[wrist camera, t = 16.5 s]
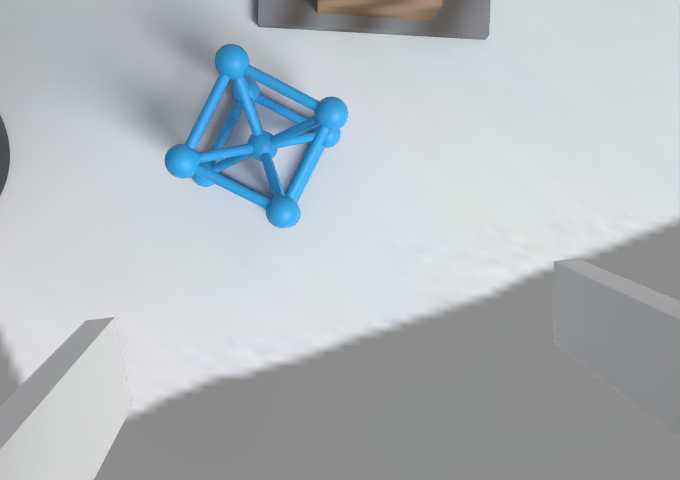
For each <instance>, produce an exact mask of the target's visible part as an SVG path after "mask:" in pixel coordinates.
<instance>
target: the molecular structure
mask: <svg viewBox="0 0 680 480" xmlns="http://www.w3.org/2000/svg"><path fill="white" fill-rule="evenodd" d="M215 64H216V68H217V70H218V72H219V73H220V75H219V77H218V79H217V81H216V83H215V85H214V87H213V89H212V91H211V93H210V95H209V97H208V99H207V101H206V103H205V105H204V107H203V109H202V111H201V113H200V115H199V117H198V119H197V121H196V123H195V125H194V127H193V129H192V131H191V133H190V135H189V137H188V139H187V141H186V143H185V144H178V145H175V146H173V147H171V148H170V149H169V150H168V152H167V153H166V155H165V166H166V168H167V170H168V171H169V172H170V173H171V174H172V175H174V176H175V177H179V178H188V177H191V176H192V179H193V180H194V182H195V183H197V184H198V185H200V186H204V187H208V186H211V185H213V184H214V183H215V184H217V185H219V186H221V187H223V188H225V189H227V190H229V191H231V192H233V193H235V194H237V195H239V196H241V197H243V198H245V199H247V200H249V201H251V202H253V203H255V204H257V205H259V206H261V207H263V208H265V209H266V216H267V218H268V220H269V222H270V223H271V224H273V225H274V226H276V227H279V228H286V227H291V226H293V225H295V224H296V223H297V222H298V221H299V218H300V209H299V207H298V204H297V202H298V200H299V198H300V196H301V194H302V192H303V190H304V188H305V186H306V184H307V182H308V180H309V178H310V176H311V174H312V172H313V170H314V168H315V166H316V164H317V162H318V160H319V158H320V156H321V154H322V152H323V150H324V148H325V147H326V148H328V147H332V146H334V145H335V144H336V143H337V142H338V141H339V139H340V129H339V128H341V127H342V126H343V125H344V124H345V123H346V121H347V118H348V110H347V107H346V105H345V103H344V102H343V101H342V100H340V99H339V98H336V97H326V98H324V99H322V100H321V101H320V102H319V101H317V100H315V99H314V98H312V97H310V96H308V95H306V94H304V93H302V92H300V91H298V90H296V89H294V88H293V87H291V86H289V85H287V84H285V83H283V82H281V81H279V80H277V79H275V78H273V77H272V76H270V75H268V74H266V73H264V72H262V71H260V70H258V69H256V68H254V67H252V66H251V65H249V57H248V55H247V53H246V52H245V50H244V49H243V48H241V47H240V46H238V45H235V44H227V45H224V46H222V47H221V48H220V49H219V50H218V52H217V53H216V57H215ZM244 75H246V76H248V77H250V78H252V79H254V80H256V81H258V82H260V83H262V84H264V85H266V86H268V87H269V88H271V89H273V90H275V91H277V92H279V93H281V94H283V95H285V96H287V97H289V98H291V99H293V100H294V101H296V102H298V103H300V104H302V105H304V106H306V107H308V108H310V109H312V110H314V111H315V116H314V117H311V118H309V119H307V118H305V117H303V116H301V115H299V114H297V113H295V112H293V111H291V110H289V109H287V108H285V107H284V106H282V105H280V104H278V103H276V102H274V101H272V100H270V99H268V98H266V97H264V96H262V95H260V90H259V86H258V85H257V83H256V82H255V81H254V80H252V79H250V78H245V77H244ZM230 79H231V80H233V81H234V85H233V87H232V95H233V98H234V100H235V101H236V103H235V105H234V107H233V109H232V111H231V113H230V115H229V117H228V118H227V120H226V122H225V124H224V126H223V128H222V130H221V132H220V134H219V136H218V138H217V140H216V142H215V144H214V146H213V148H212V150H211V151H206V152H201V153H197V152H196V151H195V148H196V146H197V144H198V142H199V140H200V138H201V136H202V134H203V132H204V130H205V128H206V126H207V124H208V122H209V120H210V118H211V116H212V114H213V112H214V110H215V108H216V106H217V104H218V102H219V100H220V98H221V96H222V94H223V92H224V90H225V88H226V86H227V84H228V82H229V80H230ZM256 102H257V103H259V104H261V105H263V106H265V107H267V108H269V109H270V110H272V111H274V112H276V113H278V114H280V115H282V116H284V117H286V118H288V119H290V120H292V121H294V122H296V123H298V124H297V125H295V126H292V127H290V128H288V129H286V130H284V131H282V132H280V133H278V134H276V135H274V136H273V135H272V134H271V133H269V132H266V131H263V130H262V127H261V124H260V121H259V118H258V114H257V111H256V108H255V105H254V104H255V103H256ZM243 108H244V111H245V113H246V116H247V119H248V122H249V124H250V127H251V130H252V132H253V134H252V135H251V136H250V138H249V140H248V143H247V144H245V145H239V146H234V147H228V148H223V146H224V144H225V142H226V141H227V139H228V137H229V135H230V133H231V131H232V129H233V127H234V125H235V123H236V121H237V119H238V117H239V115H240V113H241V111H242V109H243ZM308 130H311V131H313V132H310V133H305V134H301V133H304V132H306V131H308ZM310 141H312V142H311V144H310V146H309V148H308V150H307V152H306V154H305V156H304V158H303V160H302V162H301V164H300V166H299V168H298V170H297V172H296V174H295V176H294V178H293V180H292V182H291V184H290V186H289V188H288V190H287V192H286V194H284V192H283V189H282V186H281V183H280V180H279V177H278V175H277V172H276V169H275V166H274V163H273V160H272V158H273V157H274V156H275V154H276V152H277V148H280V147H285V146H290V145H295V144H300V143H305V142H310ZM222 148H223V149H222ZM251 156H252V157H253V158H254V159H256V160H258V161H262V163H263V166H264V169H265V173H266V176H267V179H268V183H269V186H270V189H271V193H272V196H273V198H272V199H271V200H270V199H268V198H266V197H264V196H262V195H260V194H258V193H256V192H254V191H252V190H250V189H248V188H246V187H244V186H242V185H240V184H238V183H236V182H234V181H232V180H230V179H228V178H226V177H224V176H222V175H220V174H219V171H221V170H223V169H225V168H227V167H230V166H232V165H234V164H236V163H238V162H241V161H243V160H245V159H247V158H249V157H251ZM224 158H225V159H224ZM219 159H223V160H221V161H219V162H217V163H215V162H216V160H219Z"/></svg>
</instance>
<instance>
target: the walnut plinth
mask: <svg viewBox="0 0 680 480" xmlns="http://www.w3.org/2000/svg"><path fill="white" fill-rule="evenodd" d="M489 22H490V0H258V25H259V27H270V28H288V29H306V30H323V31H341V32H359V33H376V34H394V35H412V36H429V37H447V38H465V39H482V40H485V39H486V38H487V37H488V36H489Z"/></svg>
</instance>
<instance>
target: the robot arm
mask: <svg viewBox="0 0 680 480" xmlns="http://www.w3.org/2000/svg"><path fill="white" fill-rule="evenodd" d="M9 161H10V150H9V142H8V136H7V133H6V129H5V126H4V123H3V121H2V119H1V117H0V195H1V192H2V190H3V188H4V185H5V182H6V179H7V175H8V170H9ZM553 336H554V337H553V339H554V340H553V344H555V345H556V346H557V347H558V348H560V349H561V350H562V351H564V352H565V353H566V354H568V355H569V356H570V357H572V358H573V359H574V360H576V361H577V362H578V363H580V364H581V365H582V366H584V367H585V368H586V369H588V370H589V371H590V372H592V373H593V374H594V375H595V376H597V377H598V378H599V379H601V380H602V381H603V382H605V383H606V384H607V385H609V386H610V387H611V388H613V389H614V390H615V391H617V392H618V393H619V394H621V395H622V396H623V397H625V398H626V399H627V400H628V401H630V402H631V403H632V404H634V405H635V406H636V407H638V408H639V409H640V410H642V411H643V412H644V413H646V414H647V415H648V416H650V417H651V418H652V419H654V420H655V421H656V422H658V423H659V424H660V425H662V426H663V427H664V428H665V429H667V430H668V431H670V432H671V433H672V434H673V435H675V436H676V437H677V438H679V439H680V301H678V300H676V299H673V298H671V297H669V296H666V295H664V294H661V293H659V292H657V291H654V290H652V289H649V288H647V287H645V286H642V285H640V284H637V283H635V282H633V281H630V280H628V279H625V278H623V277H621V276H618V275H616V274H613V273H611V272H608V271H606V270H604V269H601V268H599V267H597V266H594V265H592V264H589V263H587V262H585V261H582V260H580V259H570V260H562V261H554V335H553ZM131 407H132V401H131V396H130V391H129V386H128V381H127V376H126V371H125V367H124V362H123V357H122V352H121V347H120V342H119V337H118V332H117V327H116V323H115V318H114V317H112V318H104V319H96V320H88V321H85V322H84V323H83V324H82V325H81V326H80V327H79V328H78V329H77V330H76V331H75V332H74V333H73V334H72V335H71V336H70V337H69V338H68V339H67V340H66V341H65V342H64V343H63V344H62V345H61V346H60V347H59V348H58V349H57V350H56V351H55V352H54V353H53V354H52V355H51V356H50V357H49V358H48V359H47V360H46V361H45V362H44V363H43V364H42V365H41V366H40V367H39V368H38V369H37V370H36V371H35V372H34V373H33V374H32V375H31V376H30V377H29V378H28V379H27V380H26V381H25V382H24V383H23V384H22V385H21V386H20V387H19V388H18V389H17V390H16V392H15V393H13V394H12V395H11V396H10V397H9V399H7V400H6V402H5V403H3V404H2V406H1V407H0V480H94V478H95V476H96V474H97V472H98V470H99V468H100V466H101V464H102V463H103V461H104V459H105V457H106V455H107V453H108V451H109V449H110V447H111V445H112V443H113V441H114V439H115V438H116V436H117V433H118V432H119V430H120V428H121V426H122V424H123V422H124V420H125V418H126V416H127V414H128V413H129V411H130V409H131Z"/></svg>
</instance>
